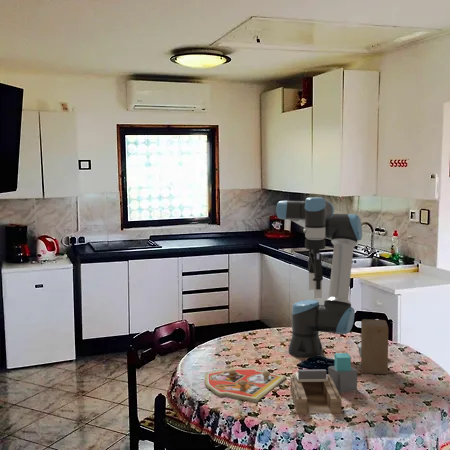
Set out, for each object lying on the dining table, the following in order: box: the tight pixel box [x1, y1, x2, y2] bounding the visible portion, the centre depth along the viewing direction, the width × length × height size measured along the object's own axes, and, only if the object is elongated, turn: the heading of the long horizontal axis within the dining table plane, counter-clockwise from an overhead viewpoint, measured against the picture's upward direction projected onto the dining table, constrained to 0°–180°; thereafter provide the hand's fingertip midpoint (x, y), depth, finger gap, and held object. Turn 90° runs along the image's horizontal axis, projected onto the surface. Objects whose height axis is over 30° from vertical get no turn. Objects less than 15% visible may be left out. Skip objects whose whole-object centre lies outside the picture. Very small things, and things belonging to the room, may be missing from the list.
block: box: [334, 352, 352, 371], centre depth 205 cm, size 5×5×5 cm
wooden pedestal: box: [290, 374, 342, 415], centre depth 195 cm, size 19×15×6 cm
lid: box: [294, 368, 328, 382], centre depth 203 cm, size 7×11×4 cm, turn 89°
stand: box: [327, 365, 358, 394], centre depth 206 cm, size 8×8×8 cm
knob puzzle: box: [204, 367, 287, 404], centre depth 214 cm, size 29×30×4 cm
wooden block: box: [360, 318, 389, 375], centre depth 224 cm, size 10×10×20 cm
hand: (315, 293), depth 211 cm, fingers open, 13 cm apart
